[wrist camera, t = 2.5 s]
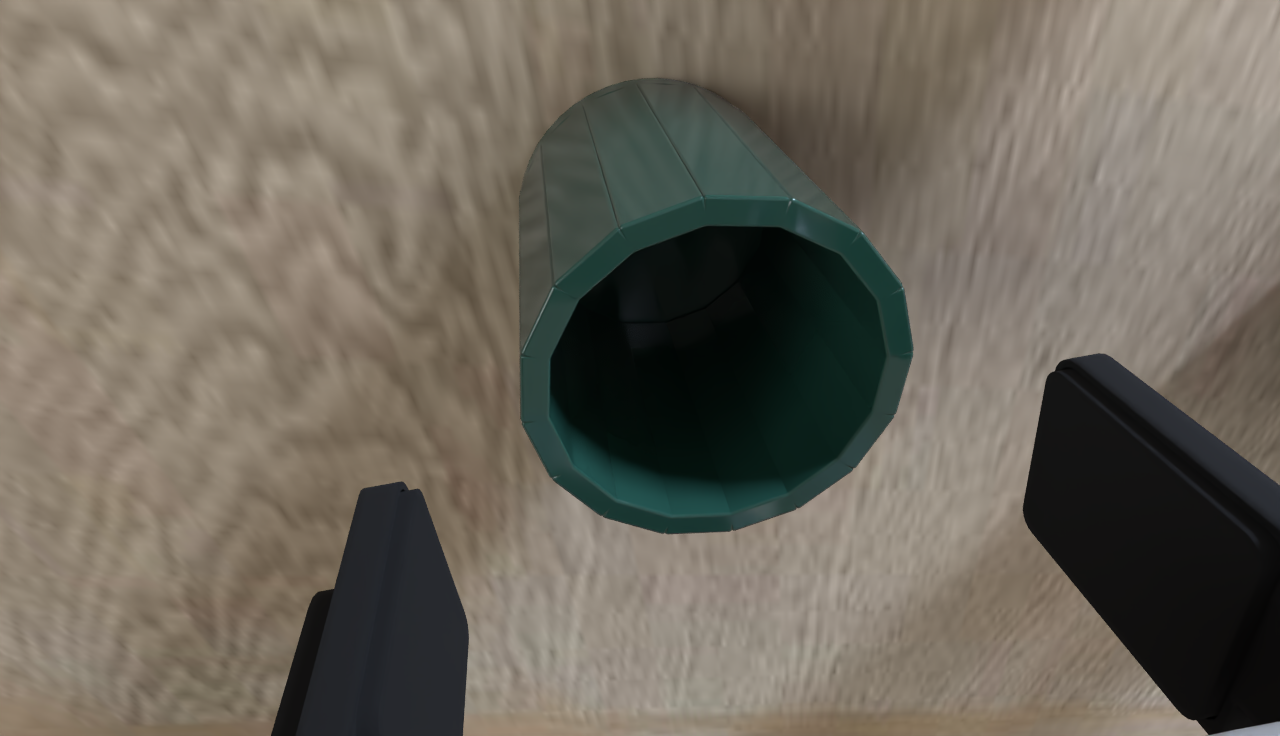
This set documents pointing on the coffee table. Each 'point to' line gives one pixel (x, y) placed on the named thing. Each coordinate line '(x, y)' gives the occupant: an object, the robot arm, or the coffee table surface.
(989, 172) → the coffee table surface
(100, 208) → the coffee table surface
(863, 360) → the pot
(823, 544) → the coffee table surface
